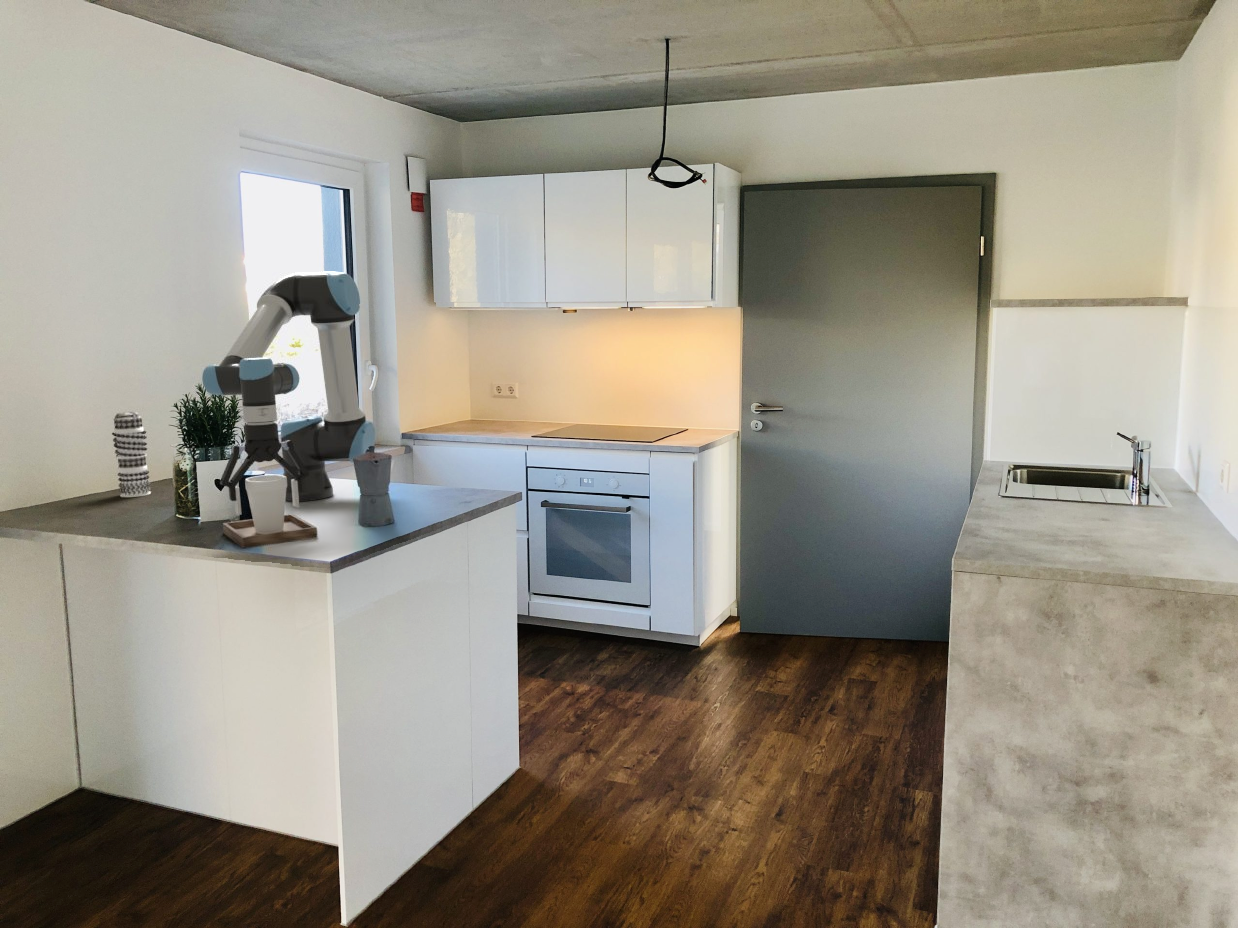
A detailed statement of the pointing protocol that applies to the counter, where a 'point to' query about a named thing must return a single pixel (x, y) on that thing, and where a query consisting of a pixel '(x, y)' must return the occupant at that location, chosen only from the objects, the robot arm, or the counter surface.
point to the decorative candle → (131, 454)
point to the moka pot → (374, 488)
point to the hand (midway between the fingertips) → (267, 510)
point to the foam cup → (267, 502)
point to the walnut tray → (249, 538)
